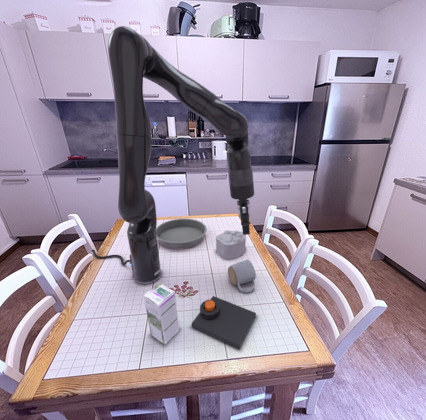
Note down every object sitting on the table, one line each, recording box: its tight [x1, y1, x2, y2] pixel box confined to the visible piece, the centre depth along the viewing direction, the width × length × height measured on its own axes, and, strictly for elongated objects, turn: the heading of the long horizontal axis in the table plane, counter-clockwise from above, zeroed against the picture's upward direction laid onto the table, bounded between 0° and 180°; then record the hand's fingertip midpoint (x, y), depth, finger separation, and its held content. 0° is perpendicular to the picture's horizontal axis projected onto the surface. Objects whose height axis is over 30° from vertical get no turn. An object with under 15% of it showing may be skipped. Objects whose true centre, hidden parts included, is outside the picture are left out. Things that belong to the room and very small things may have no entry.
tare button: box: [205, 299, 215, 312], centre depth 70 cm, size 3×3×2 cm
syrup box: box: [143, 283, 180, 346], centre depth 63 cm, size 6×6×14 cm
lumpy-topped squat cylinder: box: [215, 229, 247, 261], centre depth 103 cm, size 10×13×9 cm
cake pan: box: [156, 218, 208, 250], centre depth 114 cm, size 25×25×4 cm
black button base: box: [191, 295, 257, 350], centre depth 69 cm, size 16×12×4 cm
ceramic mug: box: [227, 259, 257, 294], centre depth 83 cm, size 11×8×8 cm
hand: (245, 227), depth 79 cm, fingers open, 8 cm apart
